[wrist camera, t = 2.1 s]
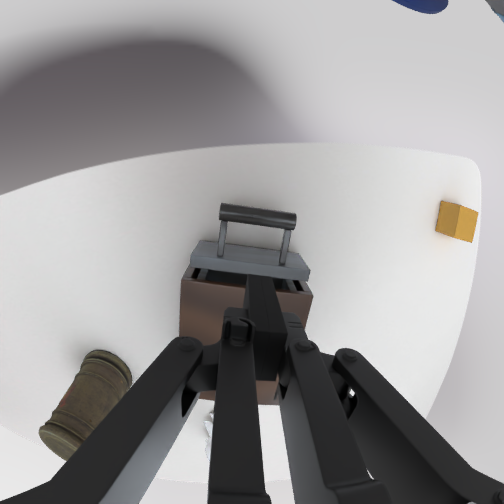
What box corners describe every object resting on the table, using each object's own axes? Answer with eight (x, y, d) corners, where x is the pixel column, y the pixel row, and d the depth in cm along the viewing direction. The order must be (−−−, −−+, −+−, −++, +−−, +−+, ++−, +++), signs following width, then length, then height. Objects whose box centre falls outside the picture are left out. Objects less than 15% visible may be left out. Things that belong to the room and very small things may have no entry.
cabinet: (194, 255, 32) (181, 279, 25) (298, 269, 33) (313, 295, 26) (188, 359, 36) (179, 395, 29) (275, 368, 37) (281, 405, 30)
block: (441, 200, 31) (460, 205, 27) (459, 207, 31) (478, 212, 27) (435, 230, 32) (454, 237, 28) (453, 235, 32) (472, 242, 28)
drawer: (204, 196, 29) (196, 201, 24) (306, 210, 30) (320, 218, 24) (192, 345, 34) (185, 373, 29) (276, 354, 35) (281, 382, 30)
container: (124, 352, 36) (76, 441, 18) (139, 393, 38) (107, 478, 21) (78, 346, 35) (24, 420, 18) (95, 386, 38) (56, 459, 21)
